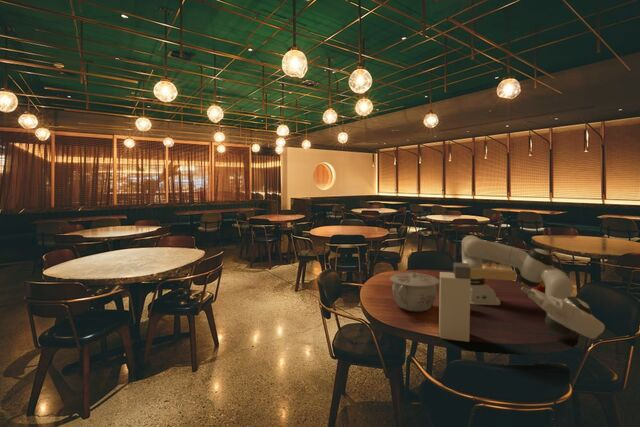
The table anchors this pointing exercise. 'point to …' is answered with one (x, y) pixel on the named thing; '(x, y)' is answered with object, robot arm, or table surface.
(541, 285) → the french fries
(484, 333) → the table surface
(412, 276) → the chamber pot
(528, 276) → the robot arm
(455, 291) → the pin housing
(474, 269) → the wooden rectangular plunger
